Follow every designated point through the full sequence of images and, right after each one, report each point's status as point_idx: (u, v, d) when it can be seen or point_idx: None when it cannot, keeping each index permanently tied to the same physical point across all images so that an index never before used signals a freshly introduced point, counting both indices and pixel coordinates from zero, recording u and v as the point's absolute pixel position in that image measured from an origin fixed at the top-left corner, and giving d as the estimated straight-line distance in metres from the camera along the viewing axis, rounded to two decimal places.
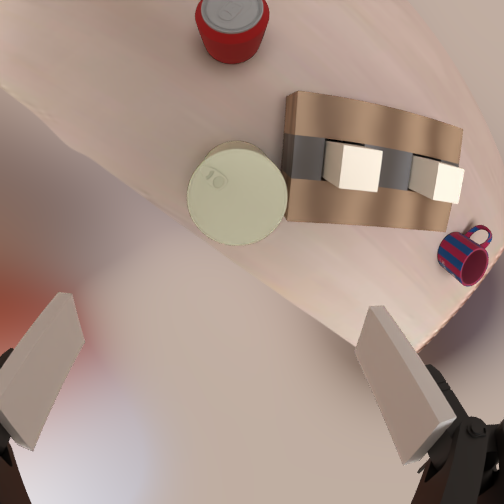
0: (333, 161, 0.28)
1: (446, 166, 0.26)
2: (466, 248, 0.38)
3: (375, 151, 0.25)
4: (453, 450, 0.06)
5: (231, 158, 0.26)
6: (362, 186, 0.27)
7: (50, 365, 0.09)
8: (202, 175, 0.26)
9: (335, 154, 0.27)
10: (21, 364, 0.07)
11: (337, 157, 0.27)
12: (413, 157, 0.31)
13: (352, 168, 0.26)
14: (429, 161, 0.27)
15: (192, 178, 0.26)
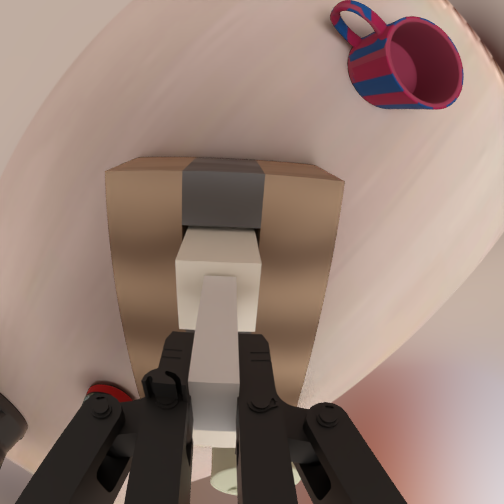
0: None
1: (181, 311, 0.15)
2: (385, 81, 0.16)
3: None
4: (239, 434, 0.07)
5: (219, 484, 0.24)
6: None
7: None
8: (234, 492, 0.25)
9: None
10: (215, 341, 0.10)
11: None
12: None
13: (218, 440, 0.19)
14: None
15: None
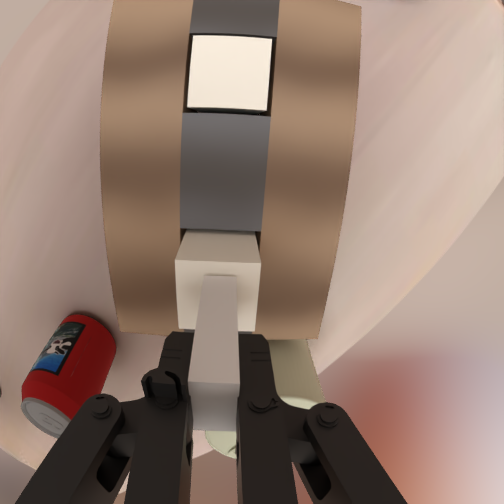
0: None
1: (192, 85, 0.13)
2: None
3: (178, 274, 0.14)
4: (239, 434, 0.07)
5: (217, 439, 0.19)
6: (249, 293, 0.15)
7: None
8: None
9: None
10: (215, 341, 0.10)
11: None
12: (201, 111, 0.19)
13: None
14: (194, 108, 0.16)
15: None
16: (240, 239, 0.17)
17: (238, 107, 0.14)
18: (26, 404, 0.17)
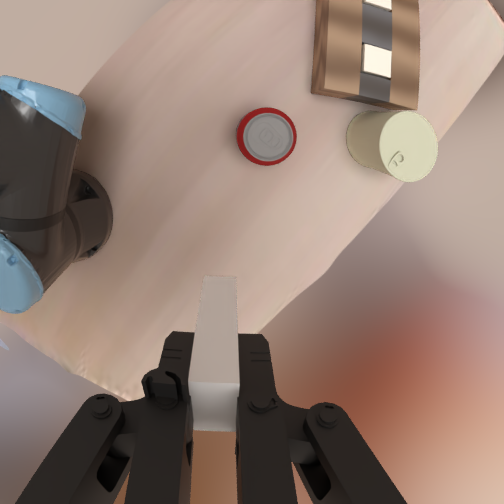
0: None
1: None
2: None
3: (365, 48, 0.30)
4: (239, 435, 0.07)
5: (385, 146, 0.32)
6: (388, 61, 0.31)
7: None
8: (393, 168, 0.33)
9: None
10: (215, 341, 0.10)
11: (368, 74, 0.33)
12: None
13: (378, 66, 0.31)
14: None
15: (394, 175, 0.34)
16: None
17: (382, 6, 0.28)
18: (252, 123, 0.30)
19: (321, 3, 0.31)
